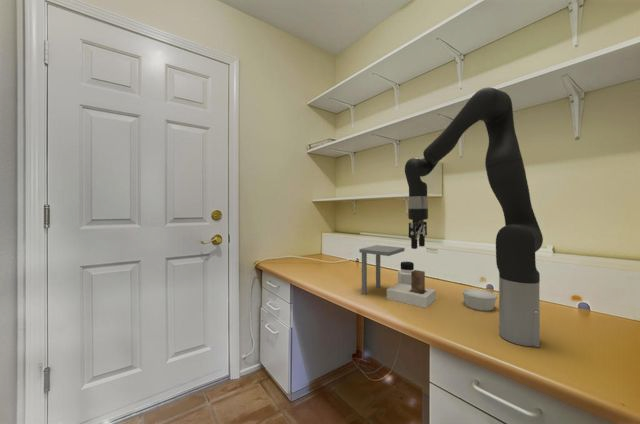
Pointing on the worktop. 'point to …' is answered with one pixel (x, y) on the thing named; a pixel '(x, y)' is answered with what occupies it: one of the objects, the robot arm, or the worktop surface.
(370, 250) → the grey miniature table
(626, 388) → the worktop surface
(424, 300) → the socket block
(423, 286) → the peg
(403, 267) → the medicine bottle
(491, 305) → the ramekin
